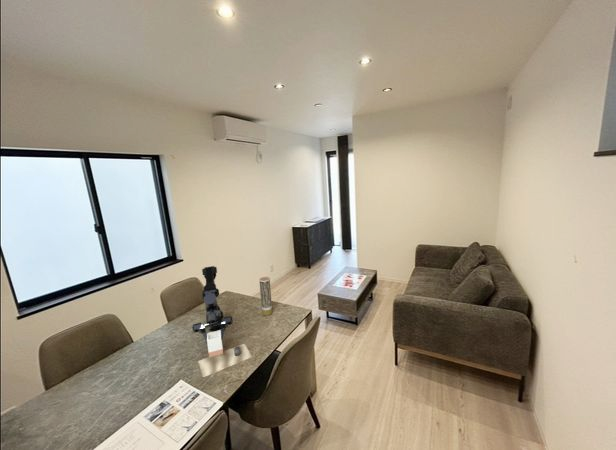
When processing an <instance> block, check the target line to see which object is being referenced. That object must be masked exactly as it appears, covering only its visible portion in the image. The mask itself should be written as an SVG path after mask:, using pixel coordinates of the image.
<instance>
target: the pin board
mask: <svg viewBox="0 0 616 450" xmlns="http://www.w3.org/2000/svg"><path fill="white" fill-rule="evenodd" d="M252 357H253V356H252V354H251V352H250V351H249V349H248V347H247V345H246V344H245V343H242V344H239V345H236V346H234V347H232V348H228V349H227V350H223V354H220V355H216V356H212V357H209V356H208V357H206V358H203V359H201V360H198V365H199V368H200V369H199V370H200V373H201V376H202V378H205V377H207V376H210V375H212V374H214V373H218V372H220V371H222V370H224V369H226V368H229V367H231V366H234V365H236V364H239V363H240V362H243V361H247V360H249V359H251V358H252Z"/></svg>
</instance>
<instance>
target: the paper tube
mask: <svg viewBox="0 0 616 450" xmlns="http://www.w3.org/2000/svg"><path fill="white" fill-rule="evenodd" d="M259 291H260V302H261V304H260V305H261V314H262V315H264V316H270V315H271V314H273V307H272V306H273V303H272V291H271V280H270V277H269V276H263V277H260V278H259Z"/></svg>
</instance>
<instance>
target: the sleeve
mask: <svg viewBox="0 0 616 450" xmlns="http://www.w3.org/2000/svg"><path fill="white" fill-rule="evenodd" d="M206 335H207V343H206V345H207V352H208V357H212V356H216V355H220V354H223V351H224V347H223V346H224V345H223V340H221V329H220V330H218V331H210V332H206Z"/></svg>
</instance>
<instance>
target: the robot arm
mask: <svg viewBox="0 0 616 450" xmlns="http://www.w3.org/2000/svg"><path fill="white" fill-rule="evenodd" d="M201 269H202V270H201V272H202V275H203V278H204V279H205V285H204V286H203V290H202V300H203V302H204V306H205V311H206V312H205V313H206V315H205V322H206V323H202V322H198V323H194V324H192V327H191V328H192V332H193V333H198V334H201V335H202V336H203V338H204V340H205V343H206V344H207V331H206V329H207V328H209V329H208V331H210V332H214V331H218V330H221V340H222V341H223V339H224V336H225V335H224V334H225V331H226V328H228V327H229V325H233V324H234V322H233V316H231V315H230V316H224V313H223V311H222V310H221V307H220V306H219V304H218V300H217V298H219V296H220V290H219V289H218V288H217V285H216V282H215V280H216V277H217V273H218V269H217V266H214V265H212V266H206V267H204V268H201Z"/></svg>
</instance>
